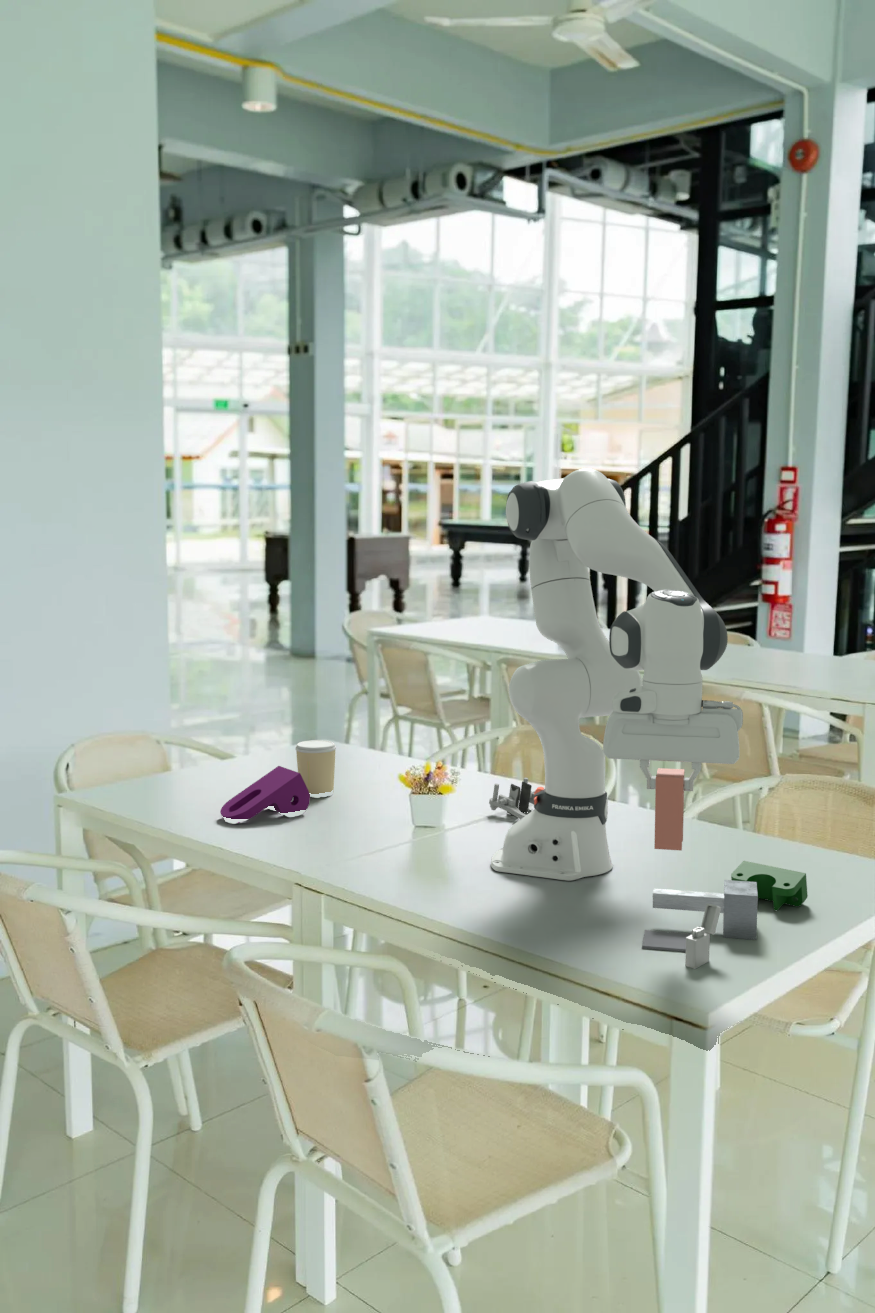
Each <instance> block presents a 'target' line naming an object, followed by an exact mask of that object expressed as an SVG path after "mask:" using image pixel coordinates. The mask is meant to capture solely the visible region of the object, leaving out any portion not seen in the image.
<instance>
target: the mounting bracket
mask: <svg viewBox="0 0 875 1313" xmlns="http://www.w3.org/2000/svg"><path fill="white" fill-rule="evenodd" d="M310 801H311V798H310V794H309V791H308V789H307V787H306V785H305V782H304V780H303V778H302V776H301V774H300V773H298V771H294V770H292V769H289V768H287V767H284V766H282V765H278V766H276V767H275V768H273V769H272V770H270V771H269V772H268V773H266V774H265V775H263V776H262V777H260V778H259V779H257V780H256V781H255V782H253V783H252V784H250V785H249V786H248V787H246V788H244V789H243V790H241V791H240V792H239V793H237V794H236V795H234V796H233V797H231V798H230V799H229V800H228V801H226V802H225V803H224V804H223V805H222V807H221V809H220V816H221V817H222V816H223V817H226V818H231V819H249V820H251V819H253V818H254V817H256V816H257V815H259V814H260V813H262V811H264V810H266V808H267V807H268V806H274V808H275V810H276V811H275V812H277V813H278V812H280V813H288V812H295V811H300V810H306V809H307V810H308V808H309V806H310ZM307 810H306V811H307ZM223 817H222V818H223Z"/></svg>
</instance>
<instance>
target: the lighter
mask: <svg viewBox="0 0 875 1313" xmlns="http://www.w3.org/2000/svg"><path fill="white" fill-rule="evenodd" d="M720 911H721V908H720V907H719V906H716V905H712V904H707V905H706V909H705V912H704V914H703V917H702V922H701V925H700V926H696V927H694V928H693V929H691V930H692V931H691V934H690V936H688V937H686V952H685V958H684V959H685V962H684V963H685V967H687V968H689V969H697V968H698V969H699V968H700V967H702V966H703V965H705V964H707V963H709V962H710V943H711V942H710V940H711V937H710V936H711V935H715V934H716V930H717V926H718V922H719V917H720V914H721V913H720Z"/></svg>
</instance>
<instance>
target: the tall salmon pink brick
mask: <svg viewBox="0 0 875 1313" xmlns="http://www.w3.org/2000/svg"><path fill="white" fill-rule="evenodd" d="M655 776H656V789H655V792H654V793H655V794H654V796H655V801H654V803H655V805H654V808H655V809H654V850H665V851H666V850H668V851H682V849H683V842H684V815H685V814H684V813H685V811H684V810H685V808H684V807H685V804H684V803H685V791H683V787H684V777H685V768H682V769H681V768H663V767H662V768H661V767H658V768H657V771H656V775H655Z"/></svg>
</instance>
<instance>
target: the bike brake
mask: <svg viewBox="0 0 875 1313" xmlns="http://www.w3.org/2000/svg"><path fill="white" fill-rule="evenodd" d="M493 786H494V787H493V794H492V797H490V798H489V802H488V804H489V807H490V809H491V811H496V809H501V810H504V811H506V814H509V815H511V816H513V815H514V816H513V817H516V818H518V819H519V820H520V819H522V818H523V817H524V816H526V815H527V814H528V813H529V807H530V804H532V805H534V792H535V790H534V791H532V785H531V784H529V778H528V777H523V781H522V782H521V786H518V785H516V784H513V783H511V784H510V785H509V786H510V787H509V788H510V789H509V793H508V796H506V795H503V794H499V791H500V790H499V788H500V784H499V783H494V785H493ZM521 811H522V812H521ZM523 812H526V813H523ZM527 812H528V813H527Z"/></svg>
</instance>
